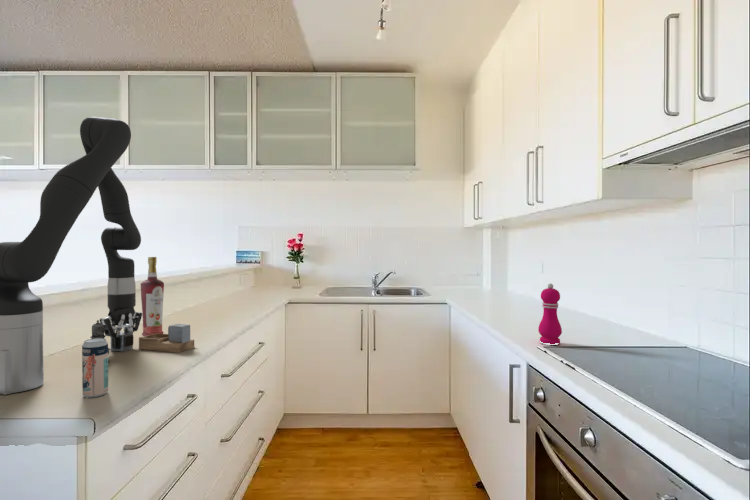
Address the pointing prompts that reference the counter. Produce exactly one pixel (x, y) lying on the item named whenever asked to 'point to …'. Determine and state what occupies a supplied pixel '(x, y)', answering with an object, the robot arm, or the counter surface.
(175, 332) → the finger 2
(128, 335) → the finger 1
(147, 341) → the wooden tray
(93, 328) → the dark metal lantern
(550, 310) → the pepper mill
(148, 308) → the liquor
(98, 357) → the beer can
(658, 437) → the counter surface
